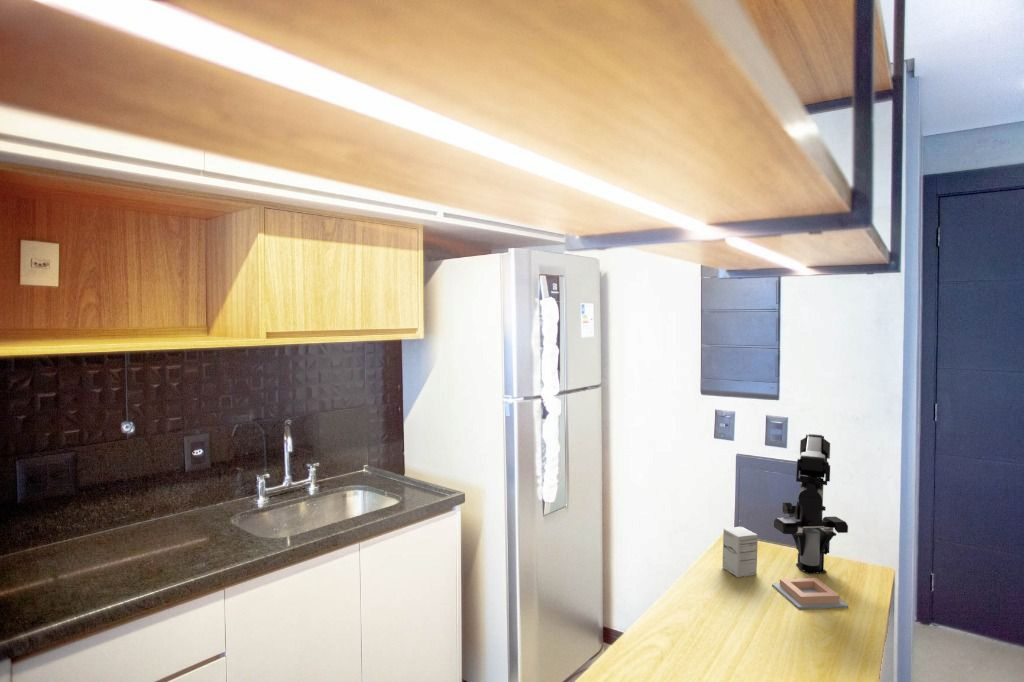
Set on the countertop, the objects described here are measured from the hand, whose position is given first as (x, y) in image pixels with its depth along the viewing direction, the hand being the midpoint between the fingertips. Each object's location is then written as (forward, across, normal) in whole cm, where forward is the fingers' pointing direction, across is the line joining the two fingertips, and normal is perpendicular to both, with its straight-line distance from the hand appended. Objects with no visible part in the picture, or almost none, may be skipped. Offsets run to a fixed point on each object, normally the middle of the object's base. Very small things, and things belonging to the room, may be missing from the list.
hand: (809, 555), depth 168 cm
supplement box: (+12, +12, -17) cm, 24 cm away
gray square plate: (+12, 0, 0) cm, 12 cm away
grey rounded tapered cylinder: (+2, 0, 0) cm, 2 cm away
